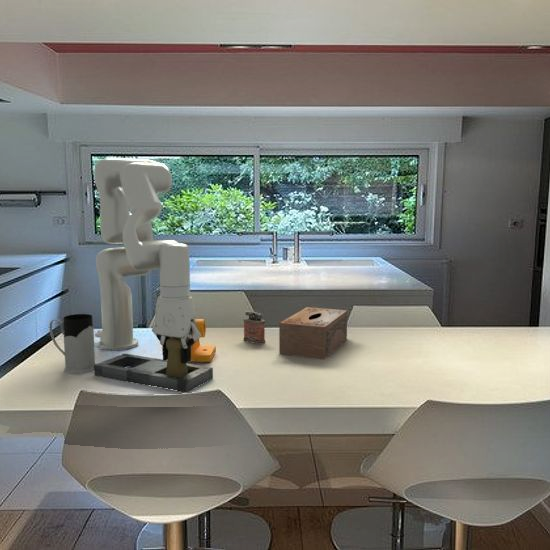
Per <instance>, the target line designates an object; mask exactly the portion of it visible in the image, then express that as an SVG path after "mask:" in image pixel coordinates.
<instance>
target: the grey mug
mask: <svg viewBox="0 0 550 550" xmlns="http://www.w3.org/2000/svg"><path fill="white" fill-rule="evenodd" d="M62 319H63V321H62V320H60V319H57V318H54V319H52V320H50V323H49V334H50V337H51V340H52V342H53V344H54V346H55V347H56V348H57V349H58V350H59V352H61V354H62V355H63V356H64V365H65V367H64V369H63V373H65V374H66V375H75V376H77V375H85V374H90V373H94V365H95V364H96V355H95V333H94V332H95V331H94V325H93V315H92V314H88V313H77V314H76V313H75V314H69V315H65V316H63V318H62ZM54 321H56V322H57V323H58V324H59V326H60V329H61V330H60V331H61V334H62V335H63V346H64V347H63V348H64V350H63V349H62V348H61V347H60V346H59V344H58V343H57V341H56V338H55V336H54V333H53V322H54Z"/></svg>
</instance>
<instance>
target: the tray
mask: <svg viewBox="0 0 550 550" xmlns="http://www.w3.org/2000/svg"><path fill="white" fill-rule="evenodd" d="M186 364H187V370H188V374H187V375H185V376H183V377H175V376H170V375H166V368H167V360H163V358H162V359H161V358H156V357H150V356H149V357H148V356H143V355H142V356H141V355H135V354H130V353H122V354H118V355H117V356H114V357H111V358H109V359H105V360H102V361H101V362H98V363H95V365H94V371H93V373H94V374H93V376H94V377H95V376H96V377H101V378H106V379H111V380H117V381H121V382H126V381H128V382H127V383H131V382H133V383H132V384H136V383H138V384H137V385H142V384H145V385H144V386H147V385H151V386H150V387H152V386H157V387H162V388H161V389H163V388H168V389H173V390H177V391H176V392H179V391H181V392H180V393H184V392H187V393H189V392H191V391H193V390H195V389H197V388H198V387H200V386H202V385H204V384H206V383H207V381H208V382H210V381H211V380H213V379H214V368H213V367H211V366H204V365H199V364H192V363H188V362H187V363H186ZM129 366H130V367H129ZM125 367H126V368H125ZM205 382H206V383H205ZM203 383H204V384H203ZM201 384H202V385H201ZM199 385H200V386H199ZM157 387H156V388H157ZM196 387H197V388H196ZM194 388H195V389H194ZM168 389H167V390H168ZM173 390H172V391H173Z"/></svg>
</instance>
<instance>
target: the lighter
mask: <svg viewBox="0 0 550 550" xmlns="http://www.w3.org/2000/svg"><path fill="white" fill-rule="evenodd" d="M244 315H245V316H248V317H244V318H243V319H242V320H243V342H246V341H248V342H247V343H251V342H254V343H253V344H258V343H263V344H265V343H266V339H265V336H266V335H265V333H266V332H265V326H266V325H265V324H266V319H263V318H262V317H263V316H262V313H259V312H258V311H254V312H253V311H248V310H247V311H245V314H244Z"/></svg>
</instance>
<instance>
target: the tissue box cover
mask: <svg viewBox="0 0 550 550" xmlns="http://www.w3.org/2000/svg"><path fill="white" fill-rule="evenodd" d="M278 324H279V328H278V329H279V330H278V331H279V332H278V333H279V335H278V336H279V338H278V339H279V343H278V344H279V345H278V347H279V348H278V349H279V350H278V354H279V353H280V354H279V355H285V354H287V356H293V355H294V356H295V357H302V358H303V357H305V358H312V359H320V360H321V359H322V360H325V359H326V358H328V357H329V356H330V355H331V354H332V353H333V352H334V351H335V350H336V349H337V348H338V347H340V346H341V344H343V343H344V342H346V341H345V340H347V338H348V335H347V334H348V310H347V309H337V308H336V309H335V308H334V309H333V308H325V307H324V308H323V307H321V308H320V307H312V306H311V307H310V306H309V307H308V306H306V307H304V308H302V309H301V310H299V311H298V312H296V313H293V314H292V315H291V316H289V317H287V318H286V319H283V320H281V321H280V322H279V323H278Z"/></svg>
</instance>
